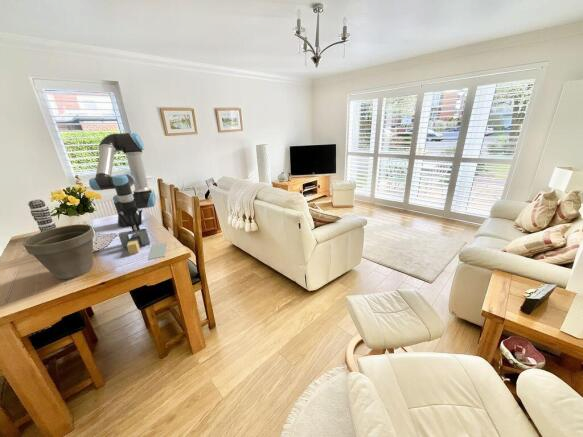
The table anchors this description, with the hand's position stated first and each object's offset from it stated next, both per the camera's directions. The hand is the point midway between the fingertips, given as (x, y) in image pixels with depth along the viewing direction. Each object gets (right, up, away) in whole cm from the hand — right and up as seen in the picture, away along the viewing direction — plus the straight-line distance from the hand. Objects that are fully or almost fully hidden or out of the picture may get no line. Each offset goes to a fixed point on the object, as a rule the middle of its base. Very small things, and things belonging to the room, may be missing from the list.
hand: (138, 235), depth 153 cm
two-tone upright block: (+4, -7, -8) cm, 11 cm away
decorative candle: (-71, 0, +15) cm, 73 cm away
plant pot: (-13, -17, -29) cm, 36 cm away
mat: (+20, -8, -12) cm, 25 cm away
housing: (+3, -6, -6) cm, 9 cm away
